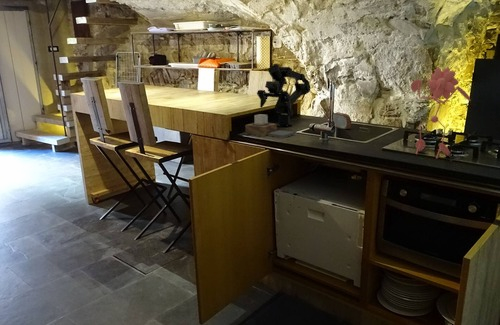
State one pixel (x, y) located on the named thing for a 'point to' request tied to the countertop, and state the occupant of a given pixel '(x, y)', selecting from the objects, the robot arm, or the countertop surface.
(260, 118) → the steel peg
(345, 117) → the tin
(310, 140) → the countertop surface
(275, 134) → the rubber pad
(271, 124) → the brown square tray
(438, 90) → the figurine
